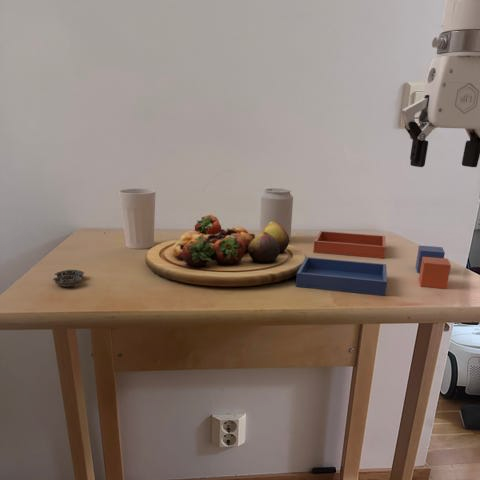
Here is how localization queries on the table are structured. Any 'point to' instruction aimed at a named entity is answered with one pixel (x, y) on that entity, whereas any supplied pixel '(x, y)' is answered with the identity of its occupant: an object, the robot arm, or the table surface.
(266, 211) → the can
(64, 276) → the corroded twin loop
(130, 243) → the cup
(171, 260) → the wooden plate
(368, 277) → the blue tray
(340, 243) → the terracotta tray
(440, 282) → the terracotta block
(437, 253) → the blue block
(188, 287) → the table surface
